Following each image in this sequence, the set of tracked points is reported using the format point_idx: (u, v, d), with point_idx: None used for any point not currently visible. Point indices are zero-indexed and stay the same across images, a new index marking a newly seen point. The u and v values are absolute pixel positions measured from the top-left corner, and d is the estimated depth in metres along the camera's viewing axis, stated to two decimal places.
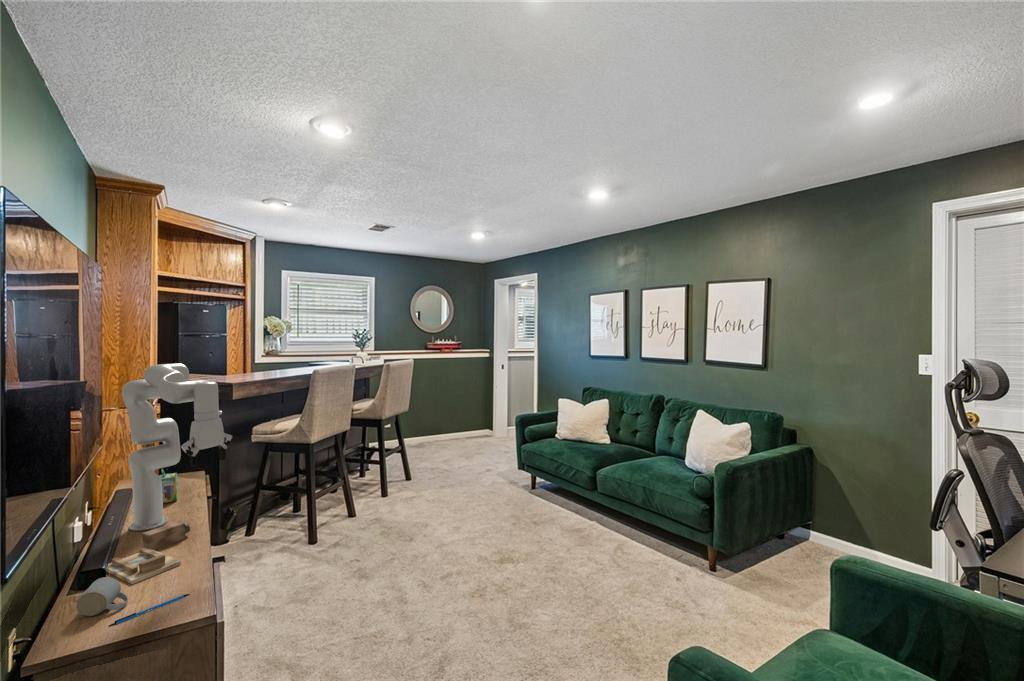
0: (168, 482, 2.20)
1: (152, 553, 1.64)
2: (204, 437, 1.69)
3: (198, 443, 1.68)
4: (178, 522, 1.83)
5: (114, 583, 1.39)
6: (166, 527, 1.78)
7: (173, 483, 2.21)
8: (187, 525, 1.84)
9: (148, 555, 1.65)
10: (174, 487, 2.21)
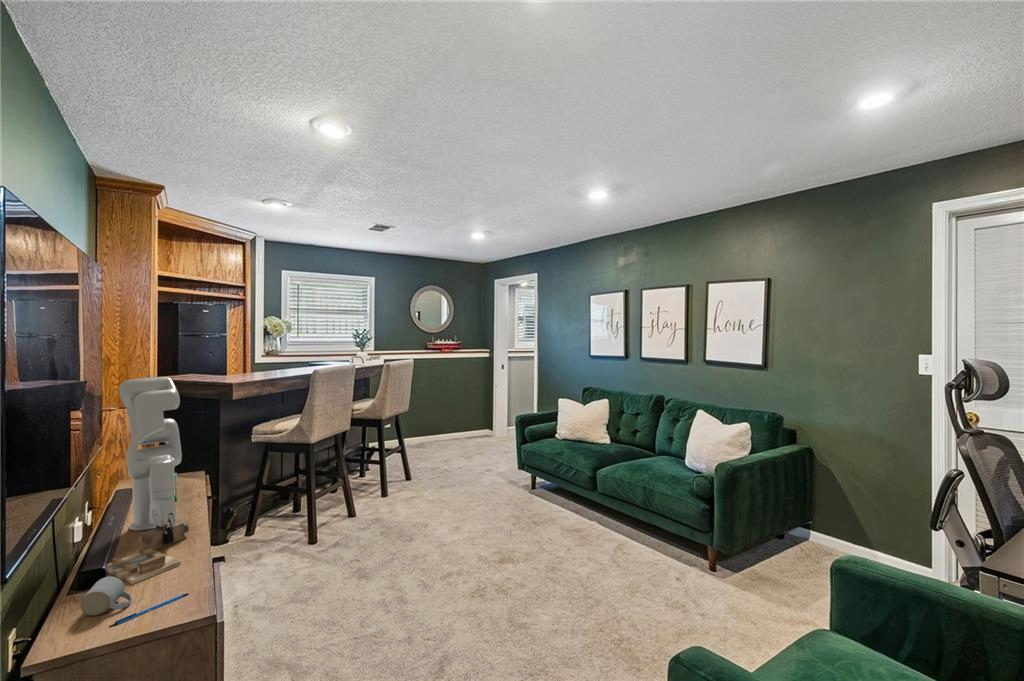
0: None
1: (152, 553, 1.64)
2: None
3: (175, 516, 1.77)
4: (177, 522, 1.82)
5: (117, 582, 1.39)
6: None
7: None
8: (186, 525, 1.84)
9: (148, 555, 1.65)
10: None
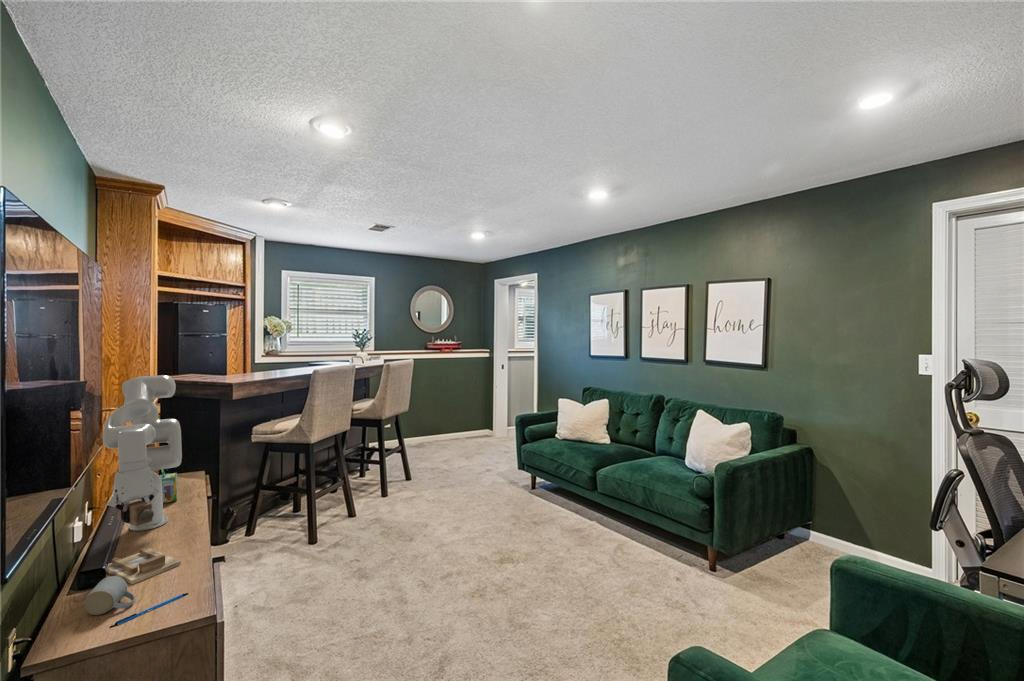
0: (168, 482, 2.20)
1: (152, 553, 1.64)
2: (129, 489, 1.58)
3: (121, 496, 1.56)
4: (144, 504, 1.59)
5: (120, 582, 1.39)
6: (134, 503, 1.61)
7: (173, 483, 2.21)
8: (142, 512, 1.57)
9: (148, 555, 1.65)
10: (174, 487, 2.21)
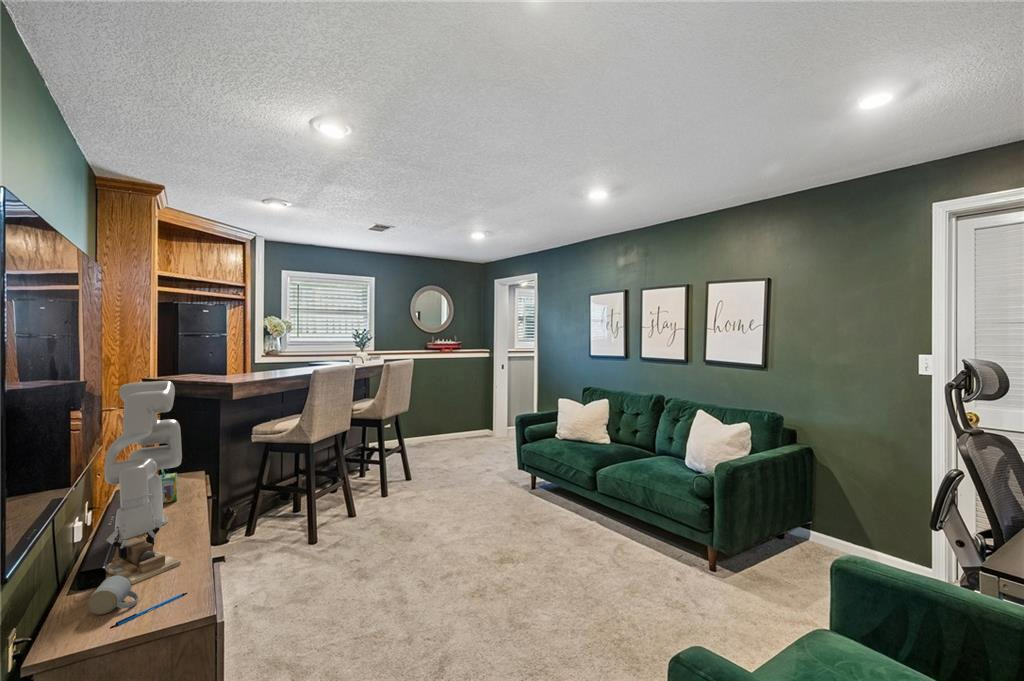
0: (168, 482, 2.20)
1: None
2: (130, 526, 1.58)
3: (123, 533, 1.57)
4: (146, 546, 1.60)
5: (124, 581, 1.40)
6: (135, 544, 1.61)
7: (173, 483, 2.21)
8: (143, 554, 1.57)
9: None
10: (174, 487, 2.21)
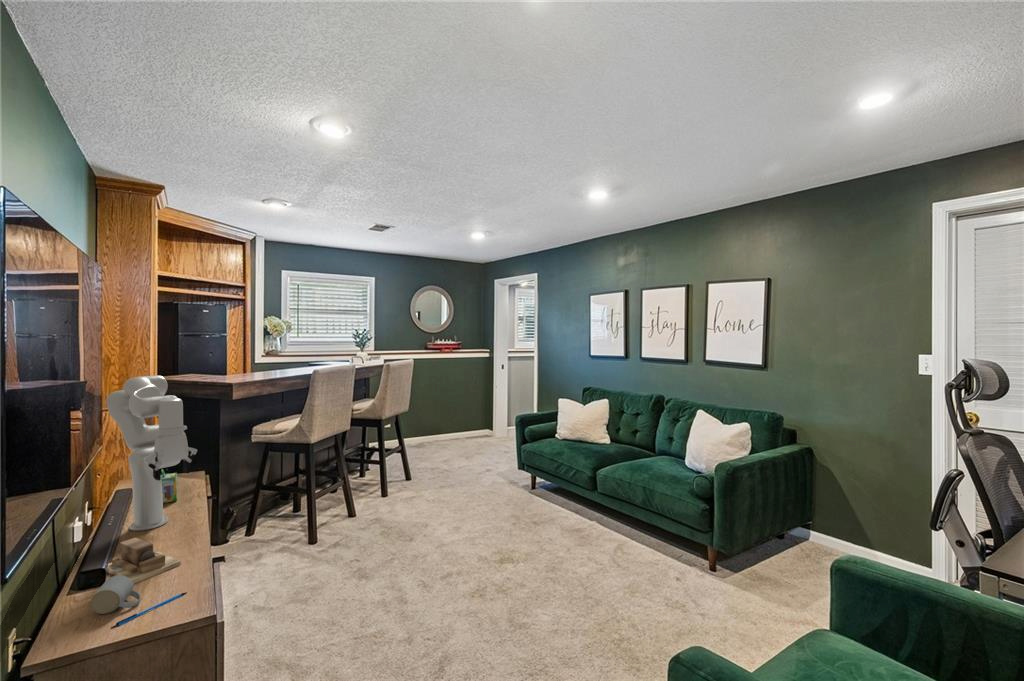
0: (168, 482, 2.20)
1: None
2: (167, 452, 1.77)
3: (161, 458, 1.75)
4: (146, 546, 1.60)
5: (127, 581, 1.40)
6: (135, 544, 1.61)
7: (173, 483, 2.21)
8: (143, 554, 1.57)
9: None
10: (174, 487, 2.21)
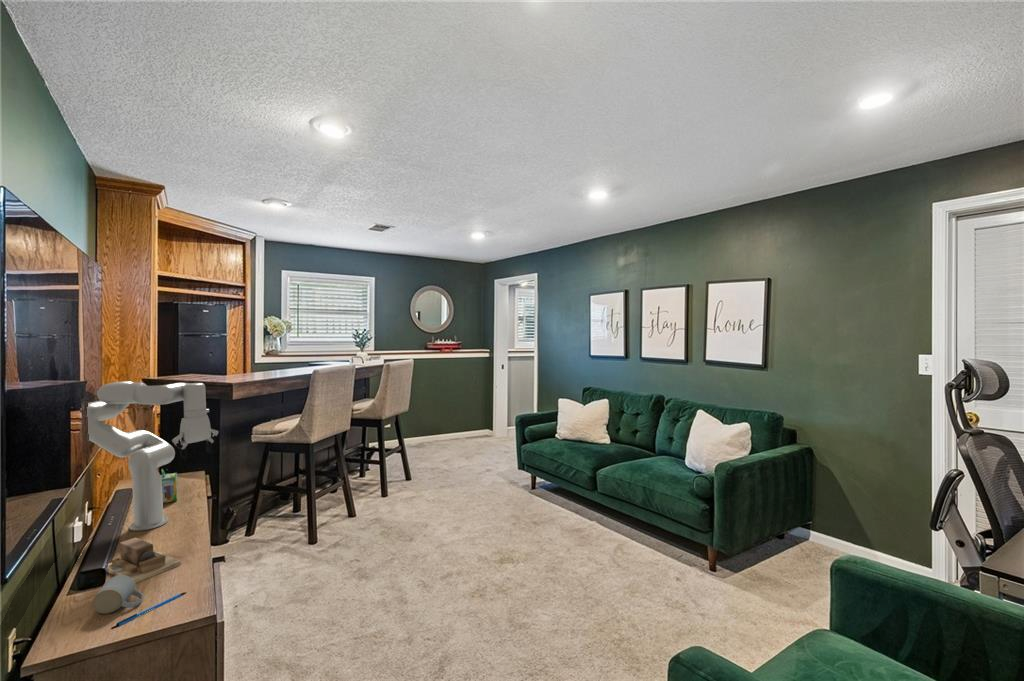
0: (168, 482, 2.20)
1: None
2: (192, 432, 1.91)
3: (187, 437, 1.90)
4: (146, 546, 1.60)
5: (129, 580, 1.40)
6: (135, 544, 1.61)
7: (173, 483, 2.21)
8: (143, 554, 1.57)
9: None
10: (174, 487, 2.21)
